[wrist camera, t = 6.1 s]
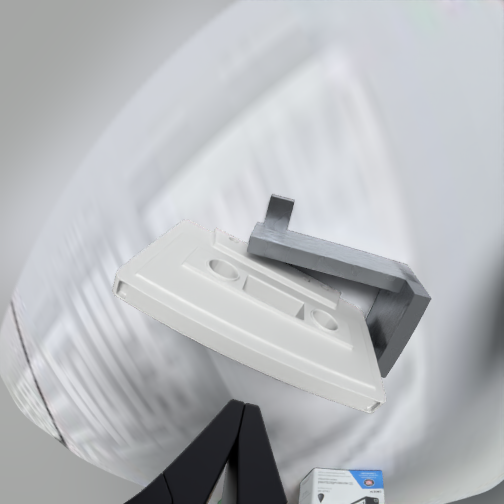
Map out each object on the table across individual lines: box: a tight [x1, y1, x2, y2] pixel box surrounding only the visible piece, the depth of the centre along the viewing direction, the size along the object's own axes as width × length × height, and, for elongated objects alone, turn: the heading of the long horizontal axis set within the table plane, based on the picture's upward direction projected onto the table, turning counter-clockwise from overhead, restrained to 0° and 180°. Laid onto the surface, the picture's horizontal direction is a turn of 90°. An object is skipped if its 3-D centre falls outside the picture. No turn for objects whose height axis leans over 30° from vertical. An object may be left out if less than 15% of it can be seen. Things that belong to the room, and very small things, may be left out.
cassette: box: [112, 219, 386, 414], centre depth 14 cm, size 12×2×8 cm, turn 64°
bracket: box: [247, 194, 431, 378], centre depth 15 cm, size 9×9×4 cm
